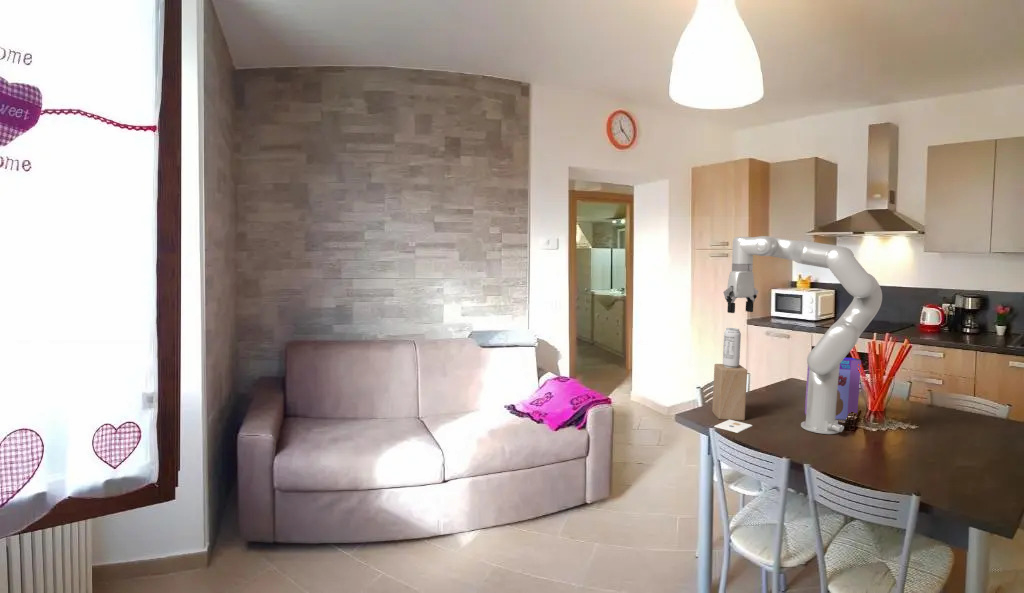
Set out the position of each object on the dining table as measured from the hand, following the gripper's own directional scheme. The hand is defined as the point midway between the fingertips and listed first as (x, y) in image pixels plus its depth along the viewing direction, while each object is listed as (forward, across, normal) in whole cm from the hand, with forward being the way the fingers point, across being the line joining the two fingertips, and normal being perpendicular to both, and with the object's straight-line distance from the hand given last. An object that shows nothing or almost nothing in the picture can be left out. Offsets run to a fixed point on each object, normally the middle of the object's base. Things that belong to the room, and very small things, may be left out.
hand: (740, 312), depth 224 cm
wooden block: (+41, +4, 0) cm, 42 cm away
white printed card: (+41, +12, +10) cm, 44 cm away
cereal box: (+42, -32, +17) cm, 55 cm away
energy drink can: (+21, +5, +1) cm, 22 cm away
